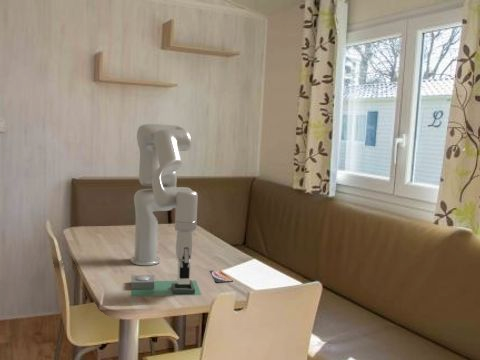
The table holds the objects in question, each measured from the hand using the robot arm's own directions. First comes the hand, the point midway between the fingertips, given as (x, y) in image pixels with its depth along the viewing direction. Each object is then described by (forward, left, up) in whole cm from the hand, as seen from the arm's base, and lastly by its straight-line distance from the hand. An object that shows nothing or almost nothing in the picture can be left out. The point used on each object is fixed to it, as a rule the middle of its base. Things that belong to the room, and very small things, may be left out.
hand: (183, 275), depth 178 cm
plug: (0, 0, -2) cm, 2 cm away
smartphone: (-19, +16, -7) cm, 26 cm away
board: (-3, -6, -7) cm, 9 cm away
